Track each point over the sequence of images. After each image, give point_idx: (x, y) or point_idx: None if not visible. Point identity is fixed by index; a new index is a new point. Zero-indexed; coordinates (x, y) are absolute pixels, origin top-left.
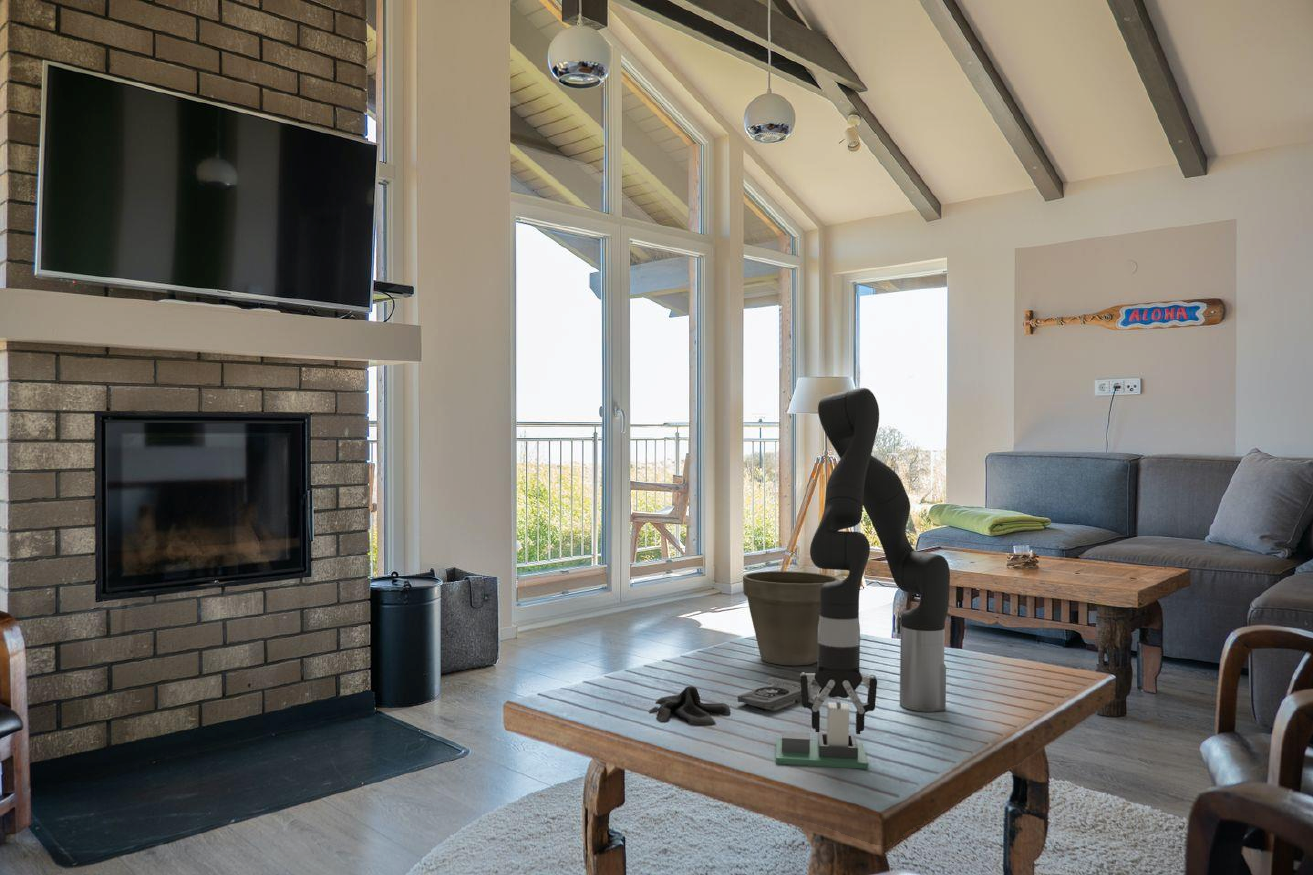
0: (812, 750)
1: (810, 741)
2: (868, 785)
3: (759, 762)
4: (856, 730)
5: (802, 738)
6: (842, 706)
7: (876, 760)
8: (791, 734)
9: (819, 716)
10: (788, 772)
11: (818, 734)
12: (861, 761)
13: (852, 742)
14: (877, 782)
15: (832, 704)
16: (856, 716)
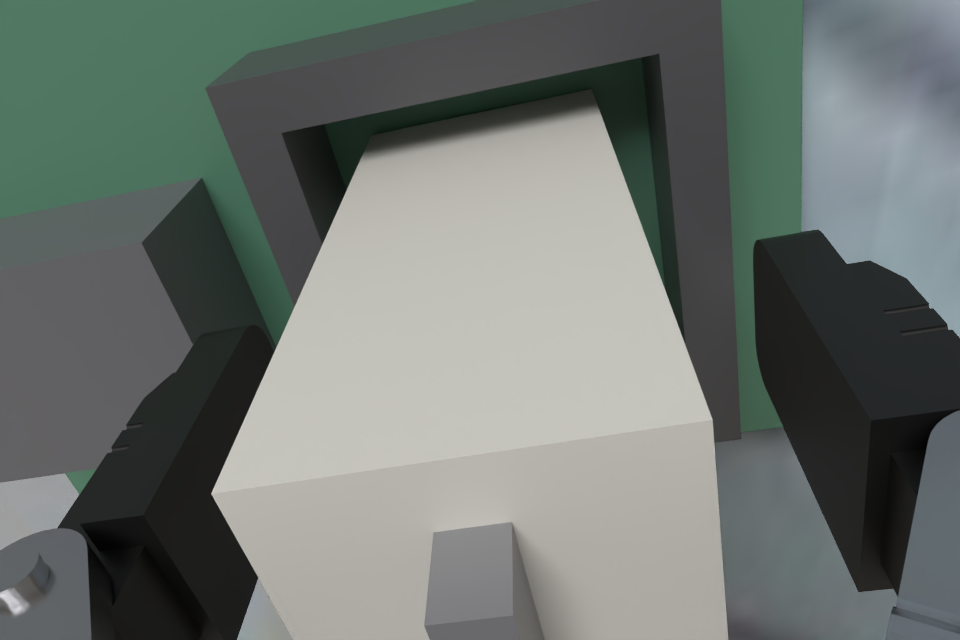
0: (279, 284)
1: (150, 10)
2: (763, 624)
3: (9, 497)
4: (770, 385)
5: None
6: (597, 633)
7: (894, 172)
8: (6, 368)
9: (248, 600)
10: (258, 583)
11: (241, 156)
12: (745, 407)
13: (684, 298)
14: (826, 577)
15: (367, 591)
16: (838, 500)
